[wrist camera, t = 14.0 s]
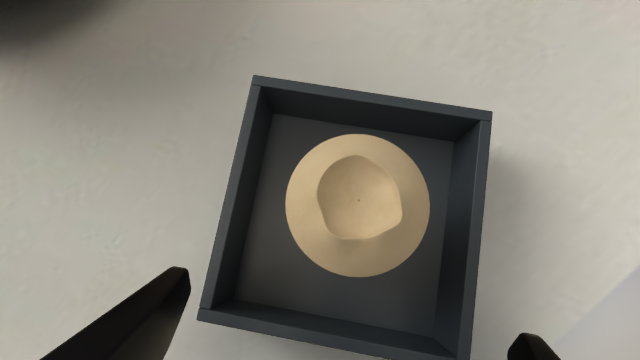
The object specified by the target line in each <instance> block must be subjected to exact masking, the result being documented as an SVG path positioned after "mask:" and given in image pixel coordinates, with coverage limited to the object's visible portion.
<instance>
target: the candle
mask: <svg viewBox="0 0 640 360" xmlns="http://www.w3.org/2000/svg"><path fill="white" fill-rule="evenodd" d="M285 205H286V216H287V222H288V225H289V228H290V231H291V233H292V235H293V237H294V239H295V241H296V243H297V244H298V246H299V247H300V248H301V250H302V251H303V252H304V253H305V254H306V255H307V256H308V257H309V258H310V259H311V260H312V261H313V262H315V263H316V264H318V265H319V266H321V267H322V268H324V269H326V270H328V271H330V272H333V273H336V274H339V275H343V276H348V277H369V276H374V275H379V274H382V273H385V272H387V271H389V270H391V269H393V268H395V267H397V266H398V265H400V264H401V263H402V262H404V261H405V260H406V259H407V258H408V257H409V256H410V255H411V254H412V253H413V252H414V251H415V249H416V248H417V247H418V245H419V243H420V242H421V240H422V238H423V236H424V234H425V231H426V228H427V225H428V220H429V214H430V201H429V193H428V189H427V185H426V183H425V180H424V178H423V175H422V174H421V172H420V170H419V168H418V167H417V165H416V164H415V163H414V161H413V160H412V159H411V158H410V157H409V156H408V155H407V154H406V153H405V152H404V151H403V150H401V149H400V148H399V147H397V146H396V145H394V144H392V143H391V142H388V141H386V140H384V139H382V138H378V137H375V136H371V135H365V134H348V135H342V136H338V137H335V138H331V139H329V140H327V141H325V142H323V143H321V144H319V145H318V146H316V147H314V148H313V149H312V150H311V151H310V152H308V153H307V154H306V155H305V156H304V157H303V159H302V160H301V161H300V162H299V164H298V165H297V167H296V168H295V170H294V172H293V174H292V176H291V178H290V181H289V184H288V188H287V192H286V202H285Z"/></svg>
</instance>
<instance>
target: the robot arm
mask: <svg viewBox="0 0 640 360" xmlns="http://www.w3.org/2000/svg"><path fill="white" fill-rule="evenodd" d="M190 292H191V285H190V279H189V273H188V270H187V269H186V268H181V267H176V266H173V267H171V268H169V269H167V270H166V271H165V272H163V273H162V274H160V275H159V276H158V277H156V278H155V279H153V280H152V281H150V282H149V283H148V284H146V285H145V286H143V287H142V288H141V289H139V290H138V291H136V292H135V293H133V294H132V295H131V296H129V297H128V298H126V299H125V300H124V301H122V302H121V303H119V304H118V305H116V306H115V307H114V308H112V309H111V310H109V311H108V312H107V313H105V314H104V315H102V316H101V317H99V318H98V319H97V320H95V321H94V322H92V323H91V324H90V325H88V326H87V327H85V328H84V329H82V330H81V331H80V332H78V333H77V334H75V335H74V336H73V337H71V338H70V339H68V340H67V341H65V342H64V343H63V344H61V345H60V346H58V347H57V348H55V349H54V350H53V351H51V352H50V353H48V354H47V355H46V356H44V357H43V358H41V359H40V360H163V358H164V356H165V354H166V352H167V350H168V348H169V346H170V343H171V341H172V339H173V336H174V334H175V331H176V329H177V326H178V324H179V321H180V319H181V316H182V313H183V311H184V308H185V306H186V303H187V301H188V298H189V296H190ZM507 359H508V360H561V359H560V358H559V357H558V356H557V355H556V354H555V353H554V351H553V350H552V349H551V348H550V347H549V346H548V345H547V344H546V342H545V341H544V340H543V339H542V338H541V337H539V336H538V335H534V334H529V333H521V334H519V336H518V337H517V338H516V340H515V341H514V342H513V344H512V345H511V346H510V348H509V350H508V354H507Z"/></svg>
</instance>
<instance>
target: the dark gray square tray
mask: <svg viewBox="0 0 640 360" xmlns="http://www.w3.org/2000/svg"><path fill="white" fill-rule="evenodd" d="M492 113H493V112H492V111H486V110H479V109H473V108H466V107H460V106H453V105H447V104H440V103H434V102H427V101H421V100H414V99H408V98H401V97H395V96H388V95H381V94H375V93H368V92H362V91H355V90H349V89H342V88H336V87H329V86H323V85H316V84H310V83H303V82H297V81H290V80H284V79H277V78H271V77H264V76H258V75H253V78H252V83H251V87H250V92H249V96H248V100H247V104H246V109H245V113H244V117H243V122H242V126H241V130H240V134H239V139H238V143H237V147H236V152H235V156H234V160H233V164H232V169H231V173H230V177H229V182H228V186H227V190H226V195H225V199H224V203H223V207H222V212H221V216H220V220H219V225H218V229H217V233H216V237H215V242H214V246H213V250H212V255H211V259H210V263H209V268H208V272H207V276H206V280H205V285H204V289H203V293H202V298H201V302H200V308H199V310H198V315H197V320H198V321H203V322H208V323H213V324H217V325H222V326H227V327H232V328H237V329H242V330H247V331H252V332H257V333H262V334H267V335H272V336H277V337H282V338H287V339H292V340H297V341H302V342H307V343H312V344H317V345H322V346H326V347H331V348H336V349H341V350H346V351H351V352H356V353H361V354H366V355H371V356H376V357H381V358H386V359H391V360H470V352H471V341H472V330H473V319H474V308H475V298H476V287H477V276H478V265H479V254H480V244H481V233H482V222H483V211H484V200H485V189H486V179H487V168H488V157H489V146H490V135H491V125H492V122H491V121H492ZM348 134H365V135H371V136H375V137H378V138H382V139H384V140H386V141H388V142H391V143H392V144H394V145H396V146H397V147H399V148H400V149H401V150H403V151H404V152H405V153H406V154H407V155H408V156H409V157H410V158H411V159H412V160H413V161H414V163H415V164H416V165H417V167H418V168H419V170H420V172H421V174H422V175H423V178H424V180H425V183H426V185H427V189H428V193H429V201H430V214H429V220H428V225H427V228H426V231H425V234H424V236H423V238H422V240H421V242H420V243H419V245H418V247H417V248H416V249H415V251H414V252H413V253H412V254H411V255H410V256H409V257H408V258H407V259H406V260H405V261H404V262H402V263H401V264H400V265H398V266H397V267H395V268H393V269H391V270H389V271H387V272H385V273H382V274H379V275H374V276H369V277H348V276H343V275H339V274H336V273H333V272H330V271H328V270H326V269H324V268H322V267H321V266H319V265H318V264H316V263H315V262H313V261H312V260H311V259H310V258H309V257H308V256H307V255H306V254H305V253H304V252H303V251H302V250H301V248H300V247H299V246H298V244H297V243H296V241H295V239H294V237H293V235H292V233H291V231H290V228H289V225H288V222H287V216H286V205H285V202H286V192H287V188H288V184H289V181H290V178H291V176H292V174H293V172H294V170H295V168H296V167H297V165H298V164H299V162H300V161H301V160H302V159H303V157H304V156H305V155H306V154H307V153H308V152H310V151H311V150H312V149H313V148H314V147H316V146H318V145H319V144H321V143H323V142H325V141H327V140H329V139H331V138H335V137H338V136H342V135H348Z"/></svg>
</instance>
